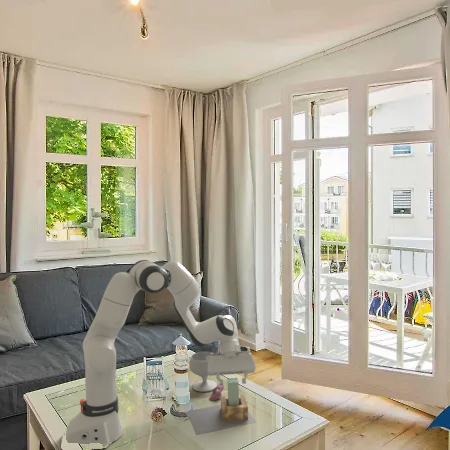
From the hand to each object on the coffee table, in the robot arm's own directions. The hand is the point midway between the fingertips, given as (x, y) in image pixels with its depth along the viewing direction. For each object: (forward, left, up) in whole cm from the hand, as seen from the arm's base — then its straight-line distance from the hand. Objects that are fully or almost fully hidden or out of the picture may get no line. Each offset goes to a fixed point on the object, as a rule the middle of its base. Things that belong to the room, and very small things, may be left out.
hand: (232, 384), depth 167 cm
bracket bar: (-1, -2, -11) cm, 12 cm away
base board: (-6, -2, -13) cm, 15 cm away
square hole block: (0, -2, -11) cm, 12 cm away
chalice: (-4, +29, -13) cm, 32 cm away
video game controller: (-2, +16, -13) cm, 21 cm away
